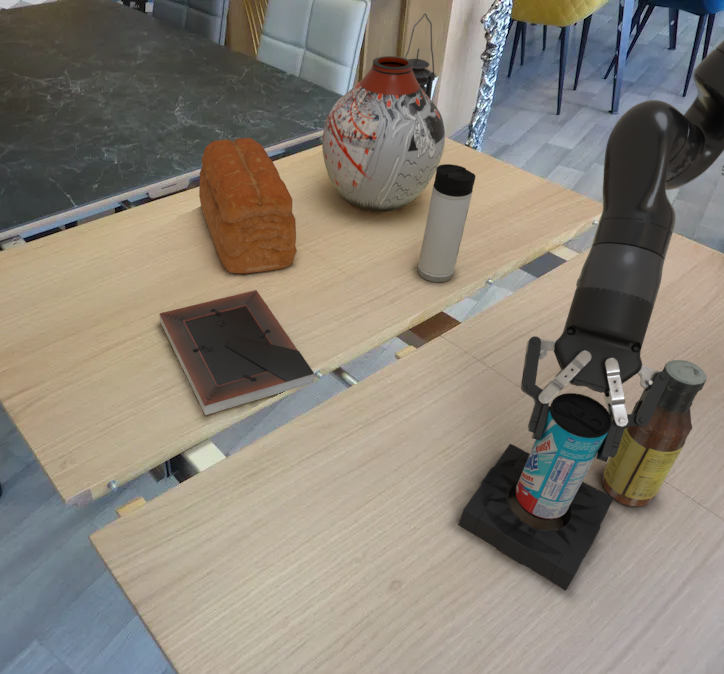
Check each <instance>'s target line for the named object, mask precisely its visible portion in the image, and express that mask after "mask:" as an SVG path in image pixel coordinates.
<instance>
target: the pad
mask: <svg viewBox="0 0 724 674" xmlns="http://www.w3.org/2000/svg"><path fill="white" fill-rule="evenodd" d="M529 455H530V453H529V452H528V451H525V450H523V449H522V448H520V447H518V446H516V445H514V444H512V443H509V444H508V446H507V447H506V448H505V450H504V451H503V452H502V454H501V455H500V457H499V459H498V460H497V461H496V462H495V464H494V465H493V466H492V467H491V468H490V469H489V471H488V472H487V473H486V474H485V476H484V478H483V479H482V481H481V482H480V485H479V486H478V488H477V490H476V491H475V492H474V494H473V496H471V498H470V500H469V501H468V502H467V504H466V505H465V507H464V508H463V510H462V512H461V516H460V518H459V521H458V526H459V527H461V528H463V529H465V530H466V531H468V532H469V533H471V534H473V535H475V536H476V537H477V538H479V539H481V540H482V541H484V542H486V543H487V544H489V545H491V546H492V547H494V548H496V550H497V551H499V552H500V553H502V554H504V555H505V556H507V557H509V558H511V559H512V560H513V561H515V562H517V563H519V564H520V565H524V566H525V567H527V568H529V569H531V570H532V571H533V572H535V573H536V574H539V575H540V576H541V577H543V578H545V579H547V580H548V581H549V582H552V583H553V584H555V585H556V586H558V587H560V588H561V589H563V590H565V591H567V590H568V588H569V586H570V584H571V583H572V581H573V579H574V578H575V577H576V574H577V572H578V571H579V568H580V566H581V564H582V562H583V560H584V559H585V557H586V556H587V554H588V553H589V551H590V550H591V548H592V546H593V544H594V543H595V540H596V538H597V536H598V533H599V532H600V530H601V525H602V523H603V521H604V519H605V517H606V515H607V513H608V511H609V509H610V507H611V505H612V503H613V501H614V500H615V498H613V497H612V496H611V495H610V494H609V493H606V492H604V491H602V490H600V489H597V488H596V487H594V486H591V485H590V484H588V483H587V482H584V481H582V483H581V485H580V487H579V489H578V491H577V493H576V495H575V497H574V498H573V500H572V502H571V504H570V506H569V508H568V510H567V511H566V513H565V514H564V515H562V516H561V517H560V518H561V520H562V525H563V526H562V527H559V528H557V529H549V530H548V529H547V530H545V529H542V528H538V527H534V526H531V525H530V524H528V523H527V522H525V521H523V520H522V519H521V518H520V517H519V516H518V515H517V514H516V513H515V512H514V511H513V509H512V506H511V504H510V502H509V499H511V498H513V497H514V496H516V486H517V484H518V482H519V479H520V477H521V474H522V472H523V469H524V467H525V465H526V462H527V460H528V457H529Z"/></svg>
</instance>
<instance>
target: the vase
mask: <svg viewBox="0 0 724 674" xmlns="http://www.w3.org/2000/svg"><path fill="white" fill-rule="evenodd" d="M412 66H413V63H412V62H411V61H410V60H408V58H406V59H405V57H403V56H402V57H401V56H395V55H394V56H393V55H385V56H379V57H376V58H374V59H373V60H372V65H371V67H370V69H369V70H368V72H367V73H366V74H365V75H364V76H363V78H361V80H359V82H358V83H356V84H355V85H354V86H353V87H352V88H351V89H349V90H348V91H347V92H346V93H345V94H344V95H342V96H341V97H340V98H339V99H338V100H337V101H336V102H335V103H334V104H333V106H332V107H331V109H330V111H329V112H328V114H327V116H326V119H325V122H324V126H323V132H322V142H321V143H322V144H321V147H322V156H323V163H324V165H325V169H326V173H327V175H328V179H329V180H330V182H331V184H332V186H333V187H334V189H335V190H336V192H337V193H338V194H339V196H340V197H341V198H342V199H343V200H345V201H346V203H348V204H349V205H351V206H352V207H354V208H356V209H358V210H360V211H363V212H366V213H367V212H368V213H373V214H384V213H391V212H394V211H397V210H399V209H402V208H404V207H406V206H407V205H409V204H410V203H412V202H413V201H414V200H415V199H417V198H418V197H419V196H420V195H421V194H422V193H423V192H424V190H425V189H426V188H427V186H428V185H429V184H430V183H431V181H432V179H433V178H434V176H435V175H436V171H437V167H438V166H440V163H441V159H442V156H443V152H444V148H445V142H446V131H445V124H444V120H443V116H442V114H441V113H440V110H439V108H438V107H437V106H436V104H435V103H434V101H432V98H431V99H430V98H429V97H428V96H427V94H426V93H425V92H424V91H423V89H422V88H421V86H420V85H419V83H418V81H417V80H416V78H415V76H414V73H413V70H412Z"/></svg>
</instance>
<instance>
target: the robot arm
mask: <svg viewBox="0 0 724 674" xmlns="http://www.w3.org/2000/svg"><path fill="white" fill-rule="evenodd" d="M692 77H693V82H694V85H695V88H696V92H697V93H696V94H697V95H696V97H695V99H694V100H693V102H692V103H691V105H690V106H689V107H688V109H687V110H686V111H685V113H684V114H683V113H682V112H681V111H680V110H679V109H678V108H676V107H675V106H674V105H672V104H670V103H668V102H666V101H663V100H658V99H650V100H645V101H641V102H639V103H637V104H635V105H633V106H631V107H630V108H629V109H628V110H627V111H626V112H624V113H623V114H622V115H621V117H619V119H618V120H617V122H616V123H615V125H614V126H613V128H612V130H611V132H610V134H609V136H608V140H607V142H606V147H605V152H604V161H603V174H602V175H603V178H602V211H601V215H600V218H599V219H598V224H597V227H596V229H595V233H594V237H593V240H592V243H591V247H590V250H589V253H588V254H587V257H586V259H585V261H584V263H583V265H582V268H581V271H580V275H579V277H578V278H577V281H576V284H575V285H576V287H575V291H574V293H573V297H572V301H571V304H570V308H569V310H568V314H567V316H566V321H565V323H564V328H563V331H562V333H561V335H560V336H559V337H558V338H557V339H556V340H550V339H542V338H540V337H539V336H535V335H534V336H531V337H530V338H529V339H528V341H527V343H526V348H525V355H524V361H523V363H524V364H523V370H522V377H521V383H520V390H521V392H523V393H524V394H526V395H528V396H529V397H530V398H531V399H532V400H533V403H534V404H533V407H532V412H531V413H530V418H529V422H528V424H527V431H528V432H530V433H532V435H531V439H533V440H535V441H536V440H539V441H540V439H541V436H542V433H543V430H544V426H545V423H546V420H547V416H548V413H549V410H550V406H551V405H550V402H552V401H553V400H554V399H555V397H556V396H557V394H559V393H560V391H561V390H563V389H564V388H565V387H566V386H567V385H568V384H569V385H571V386H575V387H586V388H588V389H590V390H591V391H593V392H597V393H600V394H601V393H602V394H603V397H604V402H605V405H606V409H607V411H608V412H609V414H610V416H611V419H612V425H611V428H610V429H609V431H608V433H607V435H606V437H605V439H604V441H603V443H602V445H601V447H600V449H599V451H598V453H597V455H596V460H599V461H602V462H604V463H605V462H606V463H608V460H609V458H610V457H612V458H614V457H615V455H616V454H617V452H618V448H619V445H620V442H621V438H622V435H623V432H624V430H625V428H627V427H629V426H646V425H647V424H648V423H649V421H650V419H651V417H652V415H653V413H654V411H655V409H656V407H657V405H658V402H659V400H660V398H661V396H662V394H663V392H664V390H665V388H666V386H667V384H668V382H669V380H670V375H669V374H668V373H667V372H665V371H662V370H661V371H660V370H656V369H654V368H651V367H649V366H647V365H644V364H643V361H642V357H641V352H642V349H643V344H644V341H645V337H646V333H647V330H648V328H649V323H650V320H651V317H652V314H653V310H654V308H655V304H656V301H657V298H658V293H659V290H660V286H661V283H662V277H663V269H664V264H665V261H666V256H667V253H668V250H669V247H670V243H671V241H672V237H673V233H674V229H675V226H676V211H675V207H674V206H673V205H672V203H671V200H669V197H668V195H667V191H670V190H676V189H679V188H681V187H683V186H686V185H689V184H690V183H692V182H693V181H695V180H696V179H697V178H699V177H700V176H702V175H703V174H704V173H705V172H706V171H708V169H710V168H711V167H712V165H713V164H714V163H715V162H716V161H717V160H718V159H719V157H720V156H721V155H722V154H723V152H724V39H723V40H722V41H721V42H720V43H718V45H717V46H716V47H715V49H713V50H711V51H710V53H708V55H706V56H705V57H704V58H703V59H702V61H701V62H700V63H699V64H698V65H697V66H696V68H695V69H694V71H693V76H692ZM551 351H553V353H554V356H555V358H556V361H557V364H558V366H559V368H560V371H558V372H557V373H556V374H555V376H554V377H552V379H551V380H550V381H549V382H548V383H547V384H546V385H545V387H543V388H541V387H540V386H538V385H537V376H538V369H539V360H544V359H545V358H546V357H547V356H548V353H549V352H551ZM636 375H638V376H639V378H640V380H639V385H640V387H641V388H642V389H643V390H642V393H641V394H640V396H639V399H638V400H639V401H638V400H637V401H638V403H637V405H636V407H635V409H634V412H633V414H631V413H627V407H626V398H625V392H624V387H623V384H624V383H626V382H627V381H629V380H630V379H632V378H633V377H634V376H636Z"/></svg>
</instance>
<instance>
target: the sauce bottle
mask: <svg viewBox="0 0 724 674" xmlns="http://www.w3.org/2000/svg"><path fill="white" fill-rule="evenodd" d="M661 371H665V372H667V373H668V374H669V375H670V380H669V382H668V384H667V386H666V388H665V390H664V392H663V394H662V396H661V398H660V400H659V402H658V405H657V407H656V409H655V411H654V413H653V415H652V417H651V419H650V421H649V423H648V424H647V425H646V426H629V427H627V428H625V430H624V432H623V435H622V438H621V442H620V445H619V448H618V452H617V454H616V455H615V457H614V458H612V457H609V458H608V460H607V462H606V465H605V467H604V469H603V474H602V485H603V488H604V491H606V492H607V494H608V495H610V496H611V497H613V498H614V500H616V501H617V502H619V503H620V504H622V505H626V506H630V507H635V508H636V507H644V506H647V505H648V504H650V503H651V501H653V499H654V498H655V496H657V494H659V491H660V490H661V487H662V485H663V484H664V482H665V480H666V478H667V477H668V475H669V473H670V472H671V470H672V468H673V466H674V464H675V462H676V460H677V459H678V457H679V455H680V453H681V451H682V449H683V448H684V446H685V444H686V440H687V438H688V436H689V434H690V433H691V431H692V430H693V425H692V415H691V407H692V406H693V402H694V400H695V398H696V397H697V395H698V393H699V392H701V391H702V390H703V388H704V386H705V384H706V381H707V374H706V373H705V371H704V370H703V369H702V368H701V367H700V366H698V365H697V364H695V363H694V362H691V361H688V360H686V359H685V360H683V359H675V360H674V359H673V360H669V361H667V362H666V363H665V365H664V367H663V368H662V370H661ZM638 401H639V399H638V400H637V401H636V402H635V404H634V407H633V408H632V411H631V413H630V414H633V412H634V409H635V407H636V405H637V403H638Z"/></svg>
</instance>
